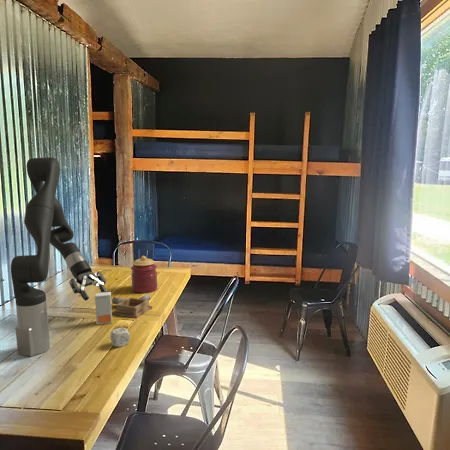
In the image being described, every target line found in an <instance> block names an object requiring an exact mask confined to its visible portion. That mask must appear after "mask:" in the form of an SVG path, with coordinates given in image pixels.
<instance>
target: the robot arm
mask: <svg viewBox="0 0 450 450" xmlns="http://www.w3.org/2000/svg"><path fill="white" fill-rule="evenodd" d="M26 171H27V176H28V178H29V181H30V183H31V185H32V188H33V190H34V191H35V195H34V196H33V197H32V198H31V199H30V200H29V202H28V203H27V205H26V206H25V207H26V208H25V213H24V221H23V223H24V227H25V228H26V230H27V231H28V233H29V234H30V236H31V238H32V239H33V241H34V242H35V244H36V247H37V248H36V249H37V252H36V254H31V255H16V256H14V257H13V258H12V259H11V261H10V262H11V263H10V276H11V277H10V278H11V280H12V281H11V282H12V287H13V297H14V300H15V308H16V319H17V320H16V321H17V326H15V336H16V337H15V338H16V339H15V340H16V346H17V348H16V349H17V354H18V355H23V356H27V357H33V356H36V355H39V354H42V353H45V352H47V351H48V350H49V349H50V347H51V342H50V332H49V319H48V308H47V307H48V306H47V297H46V296H47V294H46V292H45V291H44V290H42V289H39V288H36V287H33V286H31V285H30V284H31V283H35V284H36V283H43V282H45V281H46V279H48V274H49V267H50V266H49V265H50V245H52V247H54V248H55V249H56V251H58V252H59V253H60V255H61V256H62V258H63V260H64V261H65V263H66V266H67V268H68V269H69V271H70V274H71V275H72V277H71V278H70V280H69V282H68V284H69V286H70V288H71V289H72V292H73V293H74V294H75V295H76V294H79V295H80V296H81V297H82V300H84V301H88V300H89V298H90V296H89V295H88V293H87V292H86V290H84V289H85V287H89V286H92V285H93V286H96V287H98V288H99V290H100V293H102V292H108V290H107V288H106V286H105V284H107V279H106V278H105V277H104V275H103V274H102V273H101V271H99V270H98V271H97V272H95V273H94V272H93V270H92V268H91V266H90V265H89V262H88V261H87V259H86V257H85V256H84V255H83V254H82V252H81V251H80V248H79V247H78V246H77V244H76V243H74V242H69V241H72V240H73V239H74V236H75V235H74V233H75V232H74V231H73V228H71V226H70V225H69V223H68V221H67V219H66V217H65V212H64V209H63V206H62V204H61V202H60V201H59V200H58V199H57V198H56V193H57V188H58V185H59V179H60V173H61V166H60V162H59V160H58V159H57V158H55V157H33V158H29V159H28V160H27V162H26ZM43 182H44V183H43ZM52 228H53V229H52ZM78 284H79V286H78Z"/></svg>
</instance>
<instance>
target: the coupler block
mask: <svg viewBox="0 0 450 450" xmlns="http://www.w3.org/2000/svg"><path fill="white" fill-rule="evenodd" d="M151 299H152V297H151V295H150V294H148V293H145V294H144V295H142V296H141V297H139V298H135V297H128V298H125V297H116V296H114V297H112V298H111V304H113V305H115V310H114V311H112V316H113V315H114V316H120V317H127V318H132V319H133V318H134V319H138V318H139V317H141V316H143V315H144V314H145V313H147V312H149V311H151V310H152V309H153V306H152V305H150V302H149V301H150V300H151Z"/></svg>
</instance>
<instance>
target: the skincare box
mask: <svg viewBox="0 0 450 450" xmlns="http://www.w3.org/2000/svg"><path fill="white" fill-rule="evenodd" d="M94 295H95V296H94V301H95V303H94V305H95V321H96V323H95V324H96V325H104V324H105V325H106V324H112V321H113V311H112V292H111V291H107V292H96V293H95V294H94Z"/></svg>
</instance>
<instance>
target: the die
mask: <svg viewBox="0 0 450 450" xmlns="http://www.w3.org/2000/svg"><path fill="white" fill-rule="evenodd" d="M130 335H131V334H130V333H129V330H128V329H127V328H125V327H118V328H115V329H113V330H112V331H111V333H110V341H111V344H112V346H113V347H115V348H122V347H124V346H127V345H128V344H129V342H130V339H131V337H130ZM126 344H127V345H126Z"/></svg>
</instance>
